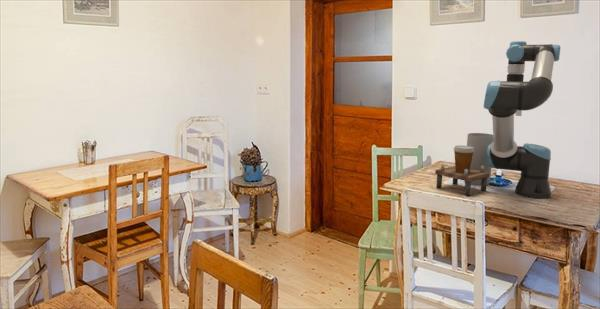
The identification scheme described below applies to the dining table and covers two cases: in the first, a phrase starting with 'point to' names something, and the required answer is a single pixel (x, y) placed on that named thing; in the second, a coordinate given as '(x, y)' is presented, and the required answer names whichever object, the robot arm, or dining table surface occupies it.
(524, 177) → the robot arm
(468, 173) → the peg shelf stand
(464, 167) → the disposable coffee cup
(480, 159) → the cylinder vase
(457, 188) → the dining table surface
